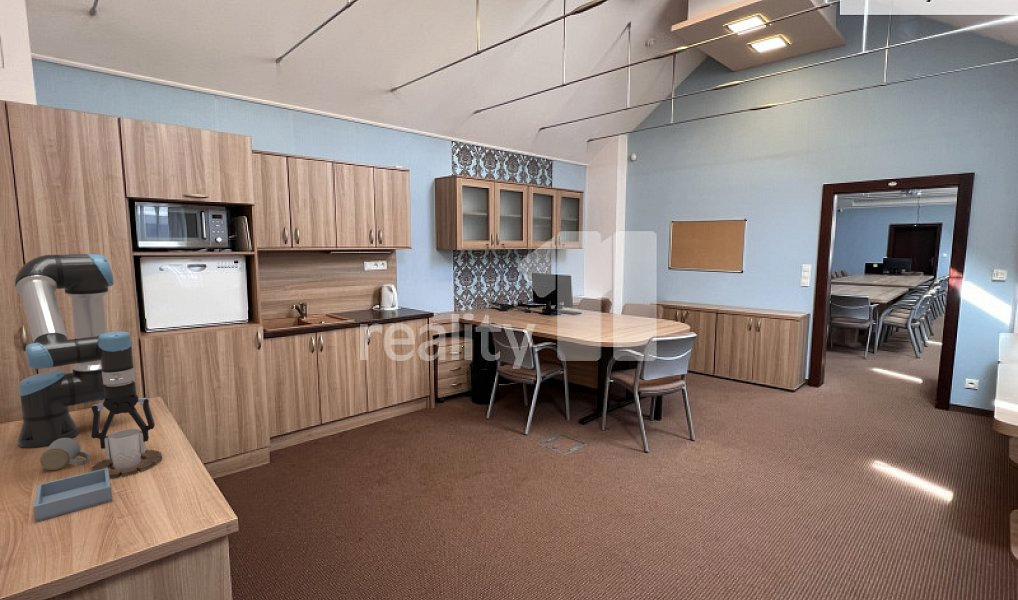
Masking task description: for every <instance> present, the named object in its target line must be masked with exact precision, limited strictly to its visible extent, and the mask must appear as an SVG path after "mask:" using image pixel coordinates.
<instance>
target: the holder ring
mask: <svg viewBox="0 0 1018 600" xmlns="http://www.w3.org/2000/svg"><path fill="white" fill-rule="evenodd" d="M141 460H143V461H141V462H140V463H139V464H137V465H135V466H131V467H127V468H122V469H115V468H114V469H113V468H111V467H113V462H112V458H110V459H108V460H107V459H106V458H105V459H102V460H101V461H98V462H97V463H96V464H94V465H93V466H92V467H91V468H90V472H92V471H97V470H101V469H105V468H108V471H109V479H110V480H111V479H119V478H120V477H121V478H126V477H128V475H129V476H132V474H133V475H136V473H137V474H138V471H139V473H142V471H143V472H144V471H147V470H149V468H150V469H152V468H154V466H155V465H156V466H157V465H158V464H159V463H160V462H161V461H162V460H163V456H162V453H161V451H160V450H154V449H150V450H149V449H146V450H145V453H142V454H141ZM125 476H126V477H125Z"/></svg>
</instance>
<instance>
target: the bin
mask: <svg viewBox="0 0 1018 600" xmlns="http://www.w3.org/2000/svg"><path fill="white" fill-rule="evenodd" d="M110 480H111V479H109V471H108V468H105V469H101V470H97V471H92V472H91V471H89V472H84V473H81V474H77V475H72V476H68V477H64V478H60V479H56V480H52V481H47V482H43V483H40V484H37V486H36V491H35V497H34V503H33V512H34V518H35V519H34V520H35V523H38V522H41V520H42V521H44V520H49V519H53V518H55V517H59V515H60V516H62V515H66V514H70V513H74V512H76V511H81V510H84V509H83V508H85V509H88V508H87V507H89V508H91V506H92V507H96V506H98V505H103V504H106V503H110V502H113V497H112V487H111V481H110ZM95 505H96V506H95ZM37 521H38V522H37Z"/></svg>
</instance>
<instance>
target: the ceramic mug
mask: <svg viewBox="0 0 1018 600" xmlns="http://www.w3.org/2000/svg"><path fill="white" fill-rule="evenodd" d="M77 457H82V458H84V459H76V458H77ZM90 457H91V456H90V454H89V453H88V452H86V451H82V450H81V445H80V443H79V442H78V441H77V440H76V439H73V438H60V439H57V440H55V441H54V442H53V443H52V444H51V445H48V447H47V448H46V449H45V450H44V451H43V452H42V454H41V456H40V459H39V461H40V465H41V467H42V468H44V469H45V470H48V471H57V470H61V469H63V468H65V467H67V466H68V465H69V464H71V465H78V466H79V465H84V464H86V463H88V462H89V459H90Z"/></svg>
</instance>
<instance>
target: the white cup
mask: <svg viewBox="0 0 1018 600" xmlns="http://www.w3.org/2000/svg"><path fill="white" fill-rule="evenodd" d="M141 431H142V430H141V429H140V428H128V429H127V428H126V429H122V430H117V431H114V432H113V433H110V434H109V435H107V436H108V440H109V446H110V453H111V458H112V462H113V465H112V468H114V469H122V468H127V467H131V466H135V465H137V464H139V463H142V459H141V445H140V435H139V433H140V432H141Z"/></svg>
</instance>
